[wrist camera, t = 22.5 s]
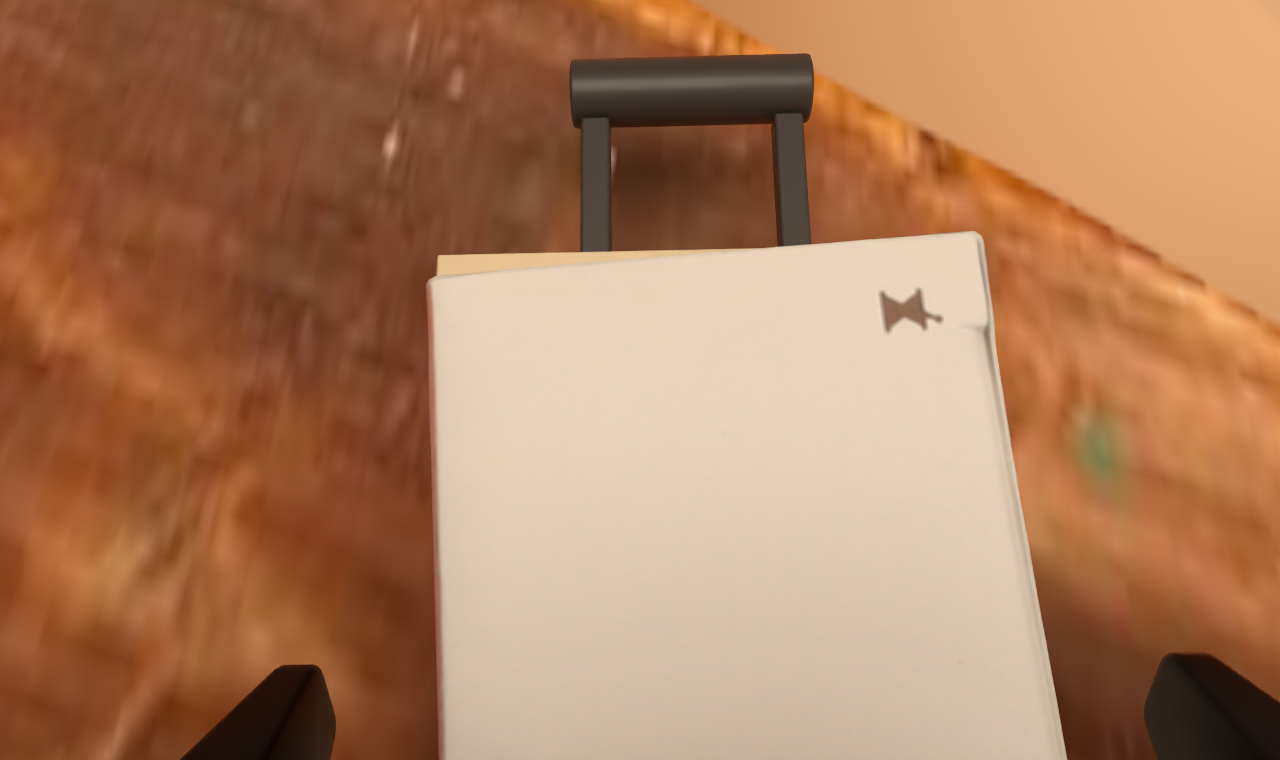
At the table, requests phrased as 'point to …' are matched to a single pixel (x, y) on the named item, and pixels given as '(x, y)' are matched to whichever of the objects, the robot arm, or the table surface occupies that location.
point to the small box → (732, 511)
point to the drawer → (675, 99)
